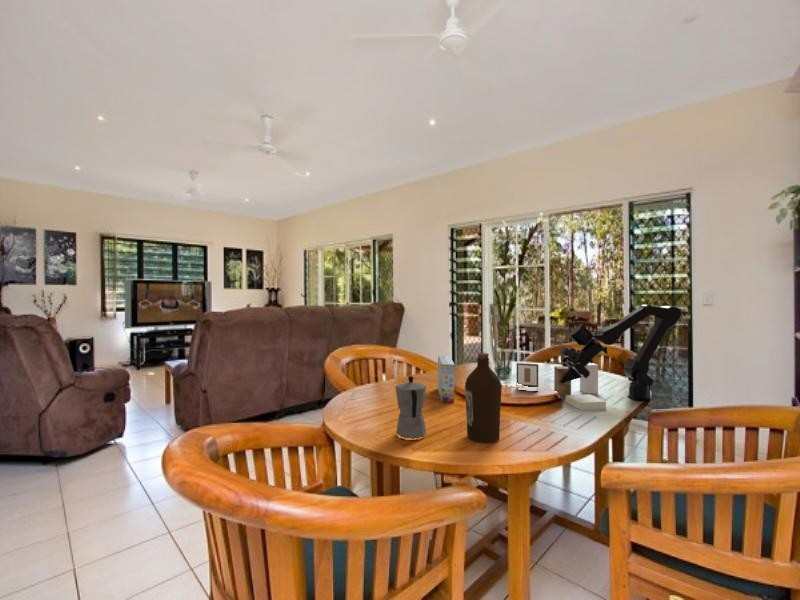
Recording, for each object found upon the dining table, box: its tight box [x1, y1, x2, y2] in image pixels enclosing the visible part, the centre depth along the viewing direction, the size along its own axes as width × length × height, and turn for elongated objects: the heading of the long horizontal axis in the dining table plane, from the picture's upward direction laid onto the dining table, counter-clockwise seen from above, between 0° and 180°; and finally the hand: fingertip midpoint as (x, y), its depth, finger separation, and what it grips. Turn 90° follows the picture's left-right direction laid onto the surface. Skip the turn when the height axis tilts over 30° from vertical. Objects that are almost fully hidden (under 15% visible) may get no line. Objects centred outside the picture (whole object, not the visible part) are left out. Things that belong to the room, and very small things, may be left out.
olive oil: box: [464, 352, 503, 444], centre depth 115 cm, size 11×11×25 cm
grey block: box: [579, 362, 599, 395], centre depth 164 cm, size 5×5×12 cm
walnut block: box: [553, 365, 572, 400], centre depth 157 cm, size 5×5×12 cm
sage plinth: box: [565, 394, 607, 411], centre depth 146 cm, size 10×10×3 cm
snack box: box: [437, 355, 456, 403], centre depth 161 cm, size 21×6×15 cm, turn 179°
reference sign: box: [516, 362, 539, 388], centre depth 169 cm, size 6×9×11 cm, turn 71°
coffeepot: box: [394, 375, 427, 439], centre depth 116 cm, size 15×9×18 cm, turn 6°
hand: (559, 380), depth 157 cm, fingers closed on walnut block, 5 cm apart
